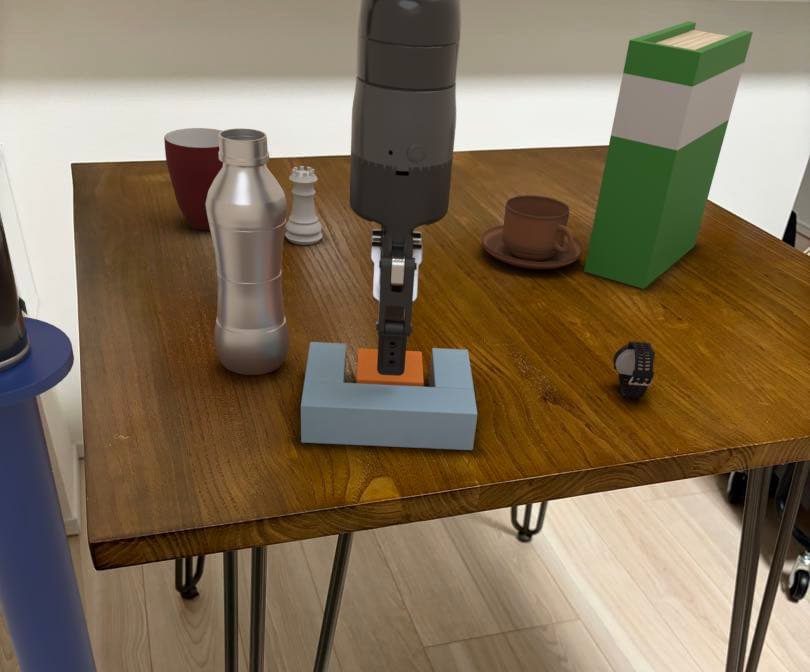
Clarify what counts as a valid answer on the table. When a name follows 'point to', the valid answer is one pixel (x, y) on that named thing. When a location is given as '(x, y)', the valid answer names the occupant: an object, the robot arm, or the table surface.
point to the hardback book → (663, 150)
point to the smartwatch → (634, 368)
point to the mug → (193, 170)
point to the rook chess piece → (303, 209)
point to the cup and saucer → (533, 234)
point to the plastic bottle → (248, 255)
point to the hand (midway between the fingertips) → (390, 348)
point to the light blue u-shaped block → (388, 404)
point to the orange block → (371, 376)
